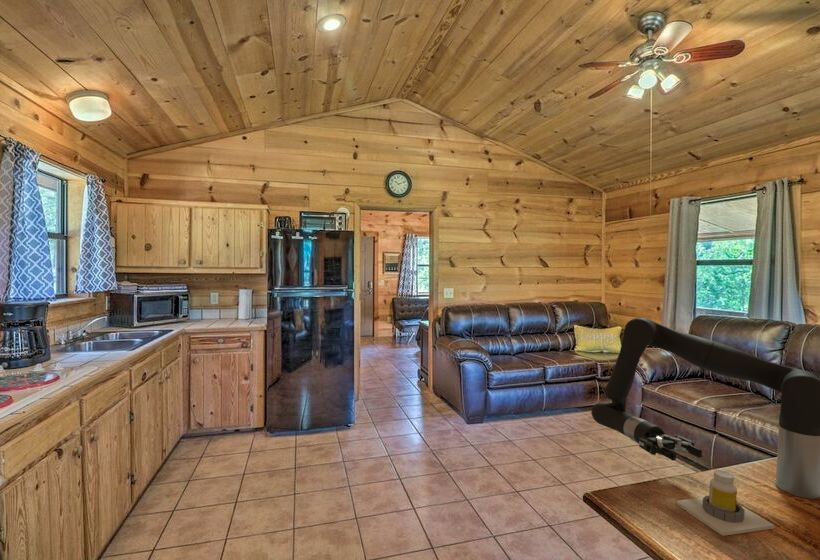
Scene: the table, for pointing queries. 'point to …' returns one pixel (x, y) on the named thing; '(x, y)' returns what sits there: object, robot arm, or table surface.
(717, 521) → the socket plate
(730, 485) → the supplement bottle
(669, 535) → the table surface
